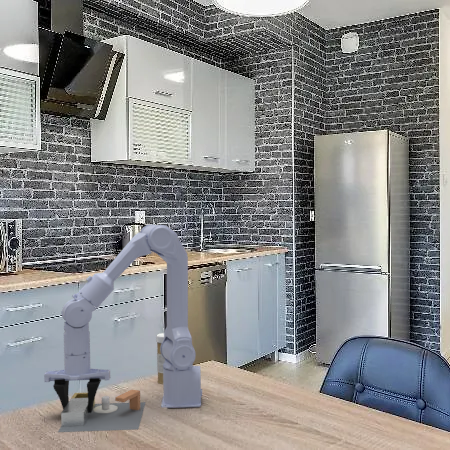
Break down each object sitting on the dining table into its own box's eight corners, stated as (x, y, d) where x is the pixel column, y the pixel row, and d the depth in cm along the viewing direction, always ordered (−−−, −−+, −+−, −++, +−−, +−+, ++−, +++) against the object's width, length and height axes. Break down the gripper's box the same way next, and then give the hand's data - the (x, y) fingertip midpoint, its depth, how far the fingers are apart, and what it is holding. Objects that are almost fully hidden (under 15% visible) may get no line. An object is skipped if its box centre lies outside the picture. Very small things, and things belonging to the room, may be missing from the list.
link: (74, 405, 134) (74, 392, 134) (95, 404, 134) (94, 392, 134) (61, 426, 120) (61, 412, 120) (83, 425, 121) (83, 412, 120)
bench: (145, 403, 135) (145, 390, 135) (138, 431, 118) (138, 416, 118) (75, 406, 134) (74, 392, 134) (57, 433, 117) (57, 418, 117)
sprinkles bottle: (168, 379, 155) (167, 331, 154) (177, 383, 151) (176, 334, 151) (154, 383, 152) (153, 334, 151) (163, 386, 148) (162, 336, 148)
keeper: (132, 409, 132) (131, 389, 132) (140, 410, 131) (140, 390, 130) (115, 417, 126) (115, 397, 126) (124, 419, 125) (123, 398, 125)
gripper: (39, 357, 122) (41, 419, 122) (106, 356, 122) (107, 417, 123) (48, 350, 129) (49, 408, 129) (111, 348, 129) (112, 406, 130)
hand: (78, 411), depth 126 cm, fingers closed on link, 5 cm apart
